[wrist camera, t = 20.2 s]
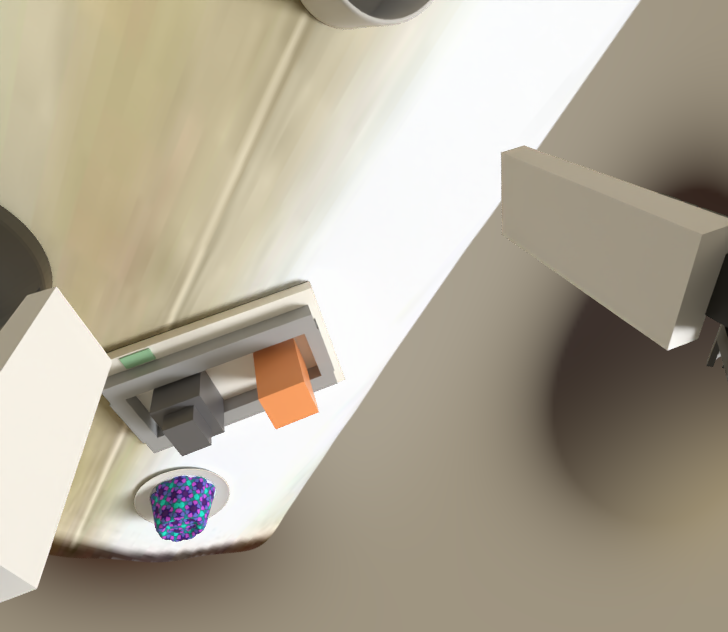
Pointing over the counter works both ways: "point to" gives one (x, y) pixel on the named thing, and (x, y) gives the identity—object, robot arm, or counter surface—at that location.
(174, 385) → the handle
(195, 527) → the pudding
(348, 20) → the mug
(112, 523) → the counter surface
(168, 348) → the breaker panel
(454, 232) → the counter surface
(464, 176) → the counter surface
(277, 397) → the block
